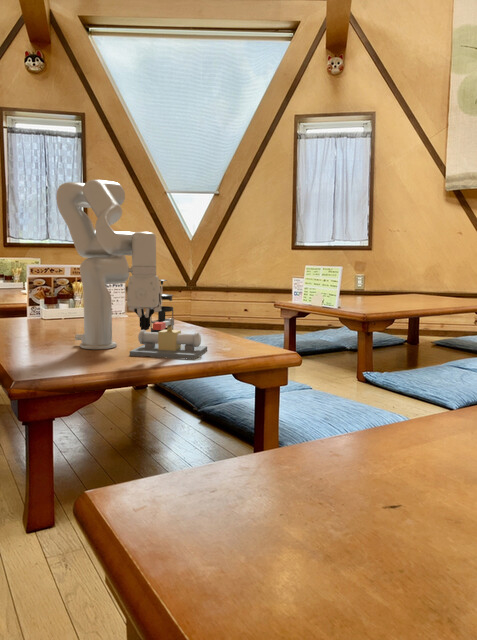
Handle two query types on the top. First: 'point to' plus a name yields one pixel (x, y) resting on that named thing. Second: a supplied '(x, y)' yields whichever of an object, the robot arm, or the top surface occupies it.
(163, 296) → the french press
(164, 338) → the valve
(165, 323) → the lever
